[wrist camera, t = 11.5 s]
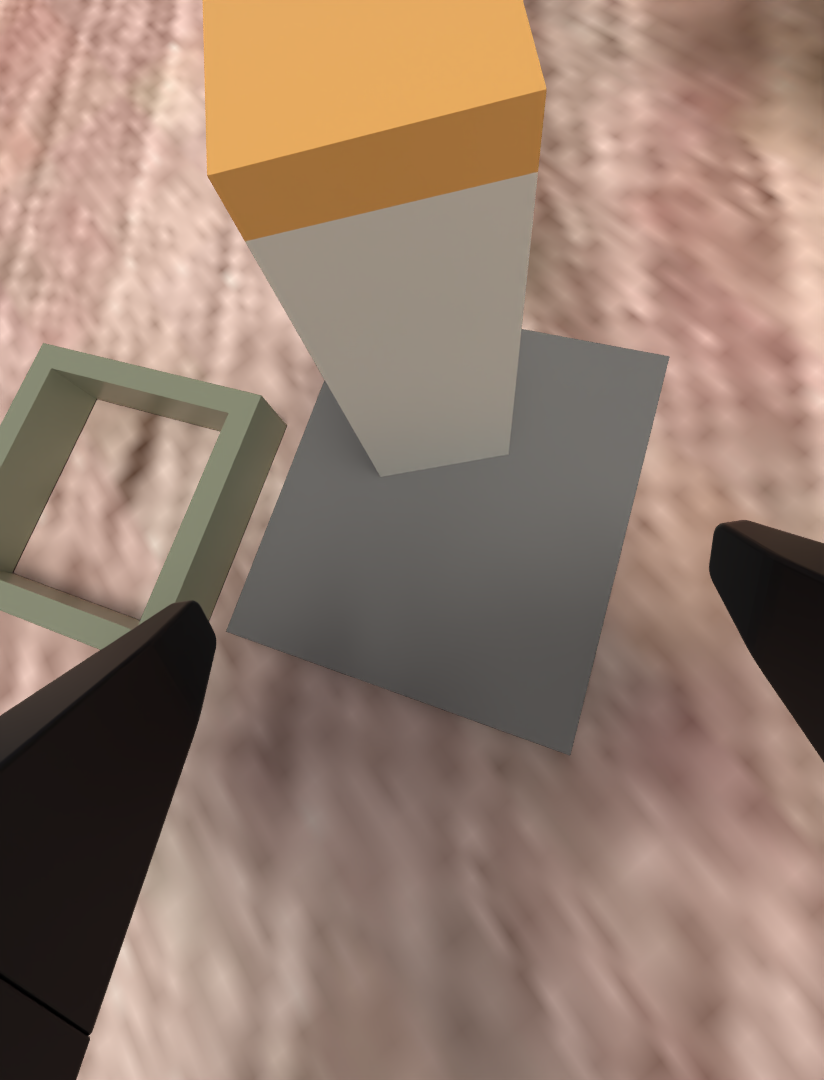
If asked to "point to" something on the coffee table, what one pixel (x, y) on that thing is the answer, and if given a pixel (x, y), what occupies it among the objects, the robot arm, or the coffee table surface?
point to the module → (387, 201)
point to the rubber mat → (466, 548)
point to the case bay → (47, 440)
